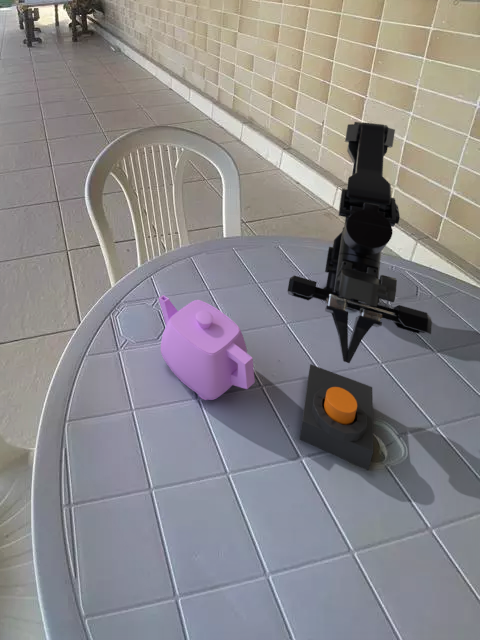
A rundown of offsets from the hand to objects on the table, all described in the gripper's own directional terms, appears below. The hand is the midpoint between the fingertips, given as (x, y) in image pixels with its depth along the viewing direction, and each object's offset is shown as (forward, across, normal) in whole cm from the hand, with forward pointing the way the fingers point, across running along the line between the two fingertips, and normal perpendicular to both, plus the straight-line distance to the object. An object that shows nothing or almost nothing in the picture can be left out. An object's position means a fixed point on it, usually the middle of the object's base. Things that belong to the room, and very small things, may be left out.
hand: (346, 362), depth 64 cm
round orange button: (+7, 0, +2) cm, 7 cm away
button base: (+9, 0, +8) cm, 12 cm away
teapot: (+10, -22, +7) cm, 25 cm away
